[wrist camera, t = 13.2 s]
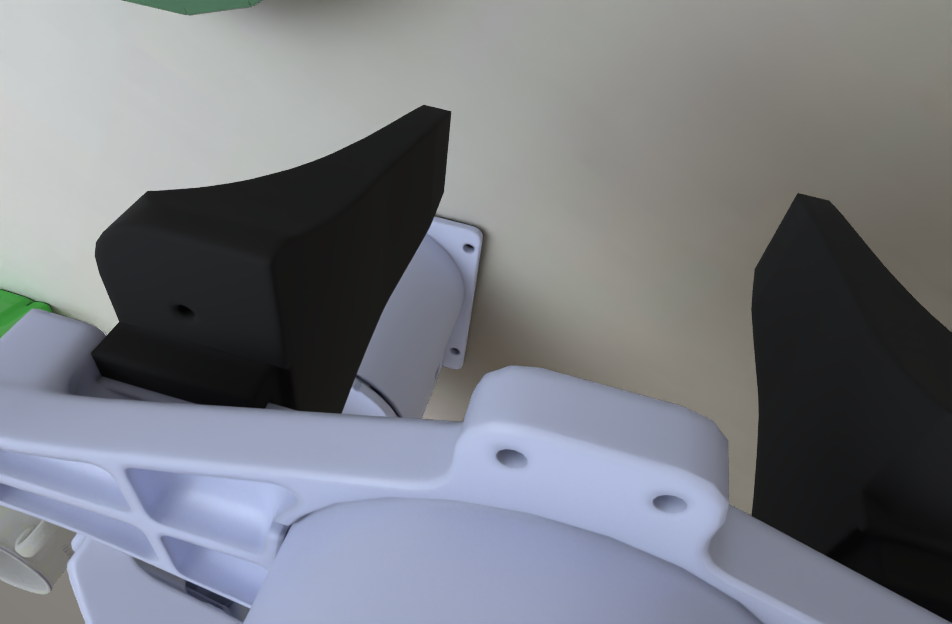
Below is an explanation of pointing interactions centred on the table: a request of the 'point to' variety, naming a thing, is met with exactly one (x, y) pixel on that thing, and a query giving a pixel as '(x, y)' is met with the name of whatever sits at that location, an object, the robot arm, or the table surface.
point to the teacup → (32, 551)
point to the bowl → (196, 5)
